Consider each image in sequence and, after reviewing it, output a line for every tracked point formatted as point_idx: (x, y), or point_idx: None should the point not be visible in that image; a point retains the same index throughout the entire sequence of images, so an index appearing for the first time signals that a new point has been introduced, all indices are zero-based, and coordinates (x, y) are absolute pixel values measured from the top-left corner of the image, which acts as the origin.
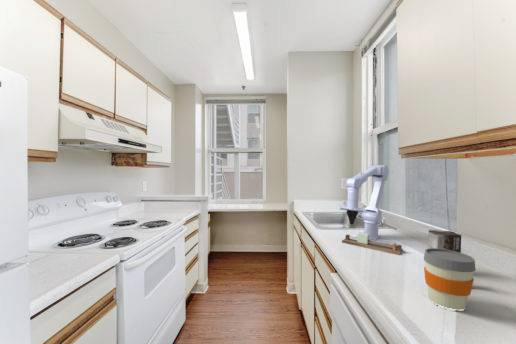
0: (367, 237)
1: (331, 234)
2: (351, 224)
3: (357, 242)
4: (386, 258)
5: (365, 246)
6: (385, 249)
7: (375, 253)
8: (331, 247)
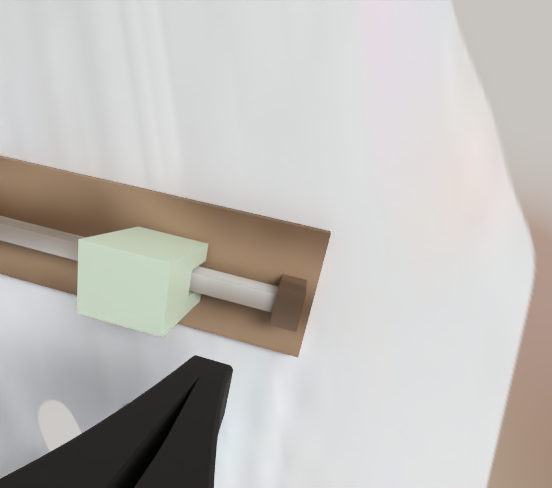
0: (94, 237)
1: (436, 423)
2: (207, 359)
3: (209, 247)
4: (2, 6)
5: (150, 191)
6: (25, 176)
7: (77, 83)
8: (402, 3)
